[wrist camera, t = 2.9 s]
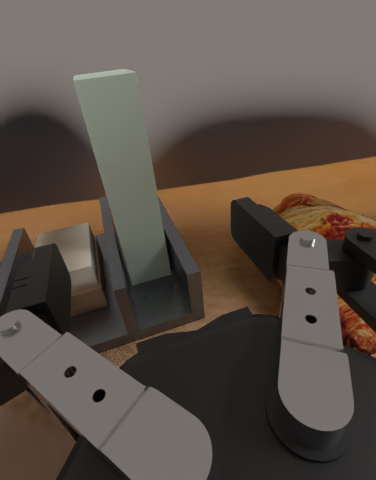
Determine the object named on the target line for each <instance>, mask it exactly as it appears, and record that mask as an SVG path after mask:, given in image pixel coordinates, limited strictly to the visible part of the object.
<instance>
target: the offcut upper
mask: <svg viewBox="0 0 376 480" xmlns="http://www.w3.org/2000/svg"><path fill="white" fill-rule="evenodd" d="M52 243H55V244H56V245H57V246H58V249H59V251H60V253H61V255H62V258H63V260H64V262H65V264H66V267H67V269H68V271H69V274H70V278H71V292H75V291H78V290H82V289H85V288H89V287H92V286H96V285H98V273H97V262H96V251H95V240H94V236H93V234H92V231H91V228H90V225H89V222H87V223H83V224H79V225H75V226H70V227H66V228H62V229H58V230H54V231H49V232H45V233H41V234H38V236H37V241H36V245H35V248H36V247H39V246H43V245H48V244H52ZM33 255H34V254H33ZM32 259H33V258H32Z"/></svg>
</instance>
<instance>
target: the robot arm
mask: <svg viewBox="0 0 376 480" xmlns="http://www.w3.org/2000/svg"><path fill="white" fill-rule="evenodd" d="M231 233H232V236H233V238H234V240H235V241H236V243H237V244H238V245H239V246H240V247H241V248H242V250H243V251H244V252H245V253H246V254H247V255H248V257H249V258H250V259H251V260H252V261H253V262H254V264H255V265H256V266H257V267H258V268H259V269H260V271H261V272H262V273H263V274H264V275H265V276H266V278H267V279H268V280H269V281H270V282H274V281H277V280H280V279H281V280H282V281H283V283H282V292H281V302H280V312H279V317H276V316H271V315H263V314H254V315H253V314H252V313H251V311H250V310H249V308H248V307H245V308H242V309H239V310H236V311H233V312H230V313H227V314H224V315H221V316H220V317H218V318H216V319H215V320H213V321H212V322H210V323H208V324H207V325H205V326H204V327H202V328H200V329H198V330H196V331H188V332H179V333H169V334H164V335H161V336H158V337H155V338H152V339H149V340H146V341H142V342H139V343H136V345H137V350H138V353H137V354H136V355H134V356H132V357H131V358H130V359H129V360H127V361H126V362H125V363H124V364H123V365H122V366H121V367H120V368H118V367H117V366H115V365H114V364H113V363H111V362H110V361H108V360H107V359H106V358H104V357H103V356H101V355H100V354H99V353H97V352H96V351H94V350H93V349H91V348H90V347H89V346H87V345H86V344H84V343H83V342H82V341H80V340H79V339H77V338H76V337H75V336H73V335H72V334H70V316H71V278H70V274H69V271H68V269H67V267H66V264H65V262H64V260H63V258H62V255H61V253H60V251H59V249H58V246H57V245H56V244H55V243H52V244H48V245H43V246H39V247H36V248H35V250H34V255H33V259H32V261H28V262H25V263H24V264H23V265H22V266H21V267H20V269H19V270H18V271H17V274H16V277H15V282H14V284H13V290H12V291H11V294H10V298H9V301H8V305H7V308H6V312H5V314H4V315H2V316H1V317H0V406H1V405H3V404H4V403H6V402H8V401H9V400H11V399H12V398H14V397H16V396H17V395H19V394H20V393H22V392H24V391H26V392H27V393H28V394H29V395H30V396H31V397H32V398H33V399H34V400H35V401H36V402H37V403H38V404H39V405H40V406H41V407H42V408H43V409H44V410H45V411H46V412H47V413H48V414H49V415H50V416H51V417H52V418H53V419H54V420H55V421H56V422H57V423H58V424H59V426H60V427H61V428H62V429H63V430H64V431H65V432H66V433H67V435H68V436H69V437H70V438H71V439H72V440H73V441H74V442H75V443H76V444H75V445H74V447H73V449H72V451H71V453H70V455H69V456H68V458H67V460H66V462H65V464H64V466H63V468H62V469H61V471H60V473H59V475H58V477H57V479H56V480H376V358H374V357H372V356H369V355H367V354H365V353H362V352H360V351H358V350H355V349H353V348H351V347H348V346H346V345H344V344H343V342H342V333H341V324H340V316H339V307H338V299H337V295H338V296H339V297H340V298H341V299H342V300H343V301H344V302H345V303H346V304H347V305H348V306H349V307H350V308H351V309H352V310H353V311H354V312H355V313H356V314H357V315H358V316H359V317H360V318H361V319H362V320H363V321H364V322H365V323H366V324H367V325H368V326H369V327H370V328H371V329H372V330H373V331H374V332H375V333H376V284H374V283H373V282H372V281H371V280H372V278H373V275H374V273H375V274H376V231H375V230H373V229H369V228H363V227H356V228H351V229H349V230H347V231H346V233H345V237H344V239H343V240H326V239H325V238H324V237H323V236H322V235H320V234H318V233H316V232H312V231H305V230H304V231H298V230H297V229H296V228H294V227H293V226H292V225H290V224H289V223H288V222H287V221H285V220H284V219H283V218H281V217H280V216H279V215H278V214H276V213H275V212H274V211H273V210H271V209H270V208H268V207H265V206H263V205H260V204H259V205H257V204H256V203H255V202H253V201H252V200H251V199H250V198H248V197H245V198H241V199H237V200H233V201H232V202H231Z"/></svg>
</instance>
